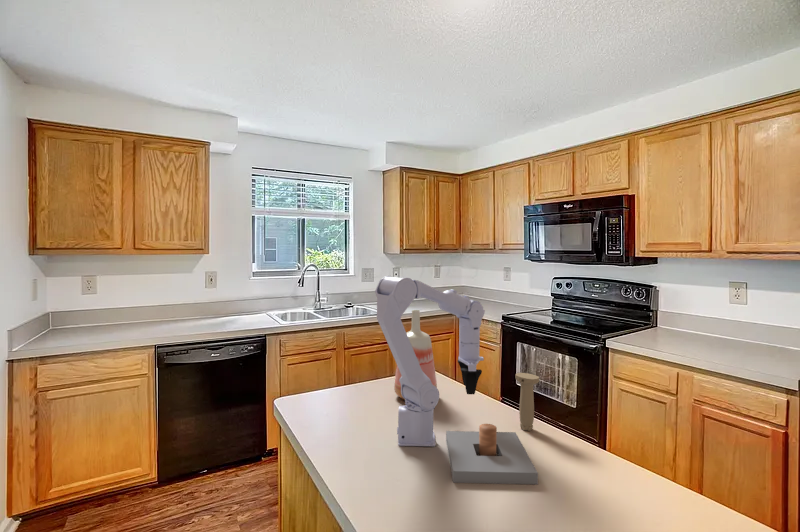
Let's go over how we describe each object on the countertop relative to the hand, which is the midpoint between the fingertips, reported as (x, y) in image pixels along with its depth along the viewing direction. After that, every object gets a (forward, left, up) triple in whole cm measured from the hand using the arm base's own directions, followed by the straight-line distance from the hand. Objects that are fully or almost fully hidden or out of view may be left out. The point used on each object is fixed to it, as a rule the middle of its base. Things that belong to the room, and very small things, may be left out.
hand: (468, 389), depth 119 cm
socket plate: (+2, -20, -10) cm, 22 cm away
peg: (+2, -20, -10) cm, 22 cm away
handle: (+16, -2, -11) cm, 19 cm away
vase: (-15, +22, -11) cm, 29 cm away
